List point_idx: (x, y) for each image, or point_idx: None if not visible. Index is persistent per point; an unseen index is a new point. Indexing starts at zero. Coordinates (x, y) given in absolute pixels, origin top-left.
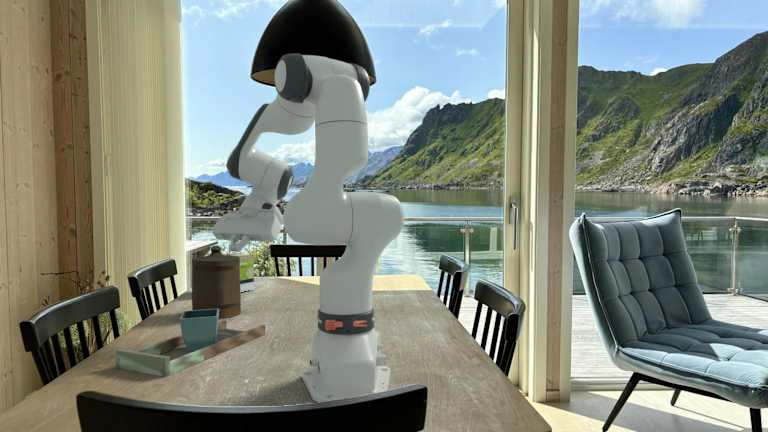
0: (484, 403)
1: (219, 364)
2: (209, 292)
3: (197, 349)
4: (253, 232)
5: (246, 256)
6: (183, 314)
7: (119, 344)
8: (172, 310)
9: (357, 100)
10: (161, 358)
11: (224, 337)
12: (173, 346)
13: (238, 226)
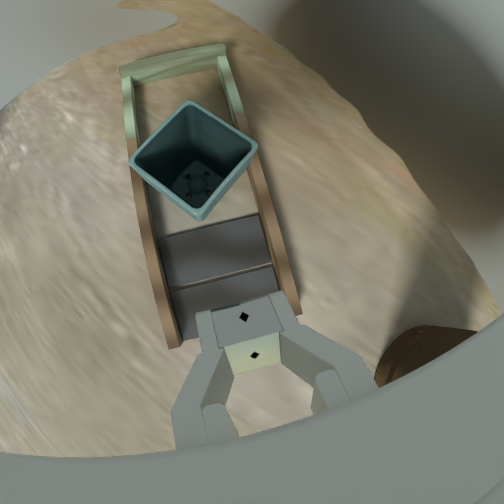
0: None
1: (94, 156)
2: (432, 351)
3: (183, 166)
4: (80, 466)
5: None
6: (227, 127)
7: (351, 123)
8: (489, 323)
9: None
10: (126, 64)
11: (221, 262)
12: None
13: (380, 490)
